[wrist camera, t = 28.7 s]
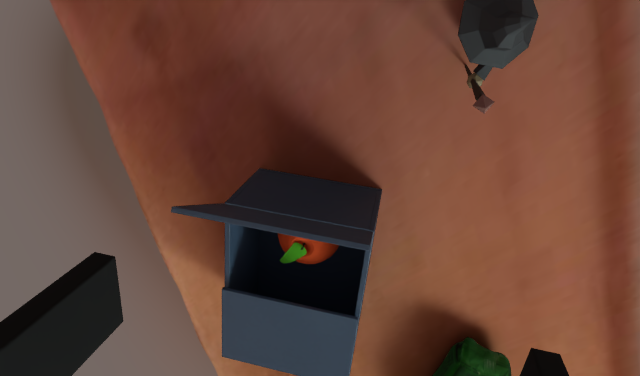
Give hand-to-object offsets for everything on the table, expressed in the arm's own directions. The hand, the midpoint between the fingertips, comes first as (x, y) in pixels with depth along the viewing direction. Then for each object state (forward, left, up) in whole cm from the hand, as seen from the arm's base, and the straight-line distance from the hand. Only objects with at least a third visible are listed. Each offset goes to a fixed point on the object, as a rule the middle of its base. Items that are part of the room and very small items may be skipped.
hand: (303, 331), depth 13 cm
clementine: (+13, -6, -31) cm, 35 cm away
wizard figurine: (-8, +8, -32) cm, 34 cm away
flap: (+6, -6, -17) cm, 19 cm away
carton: (+18, -6, -32) cm, 37 cm away
